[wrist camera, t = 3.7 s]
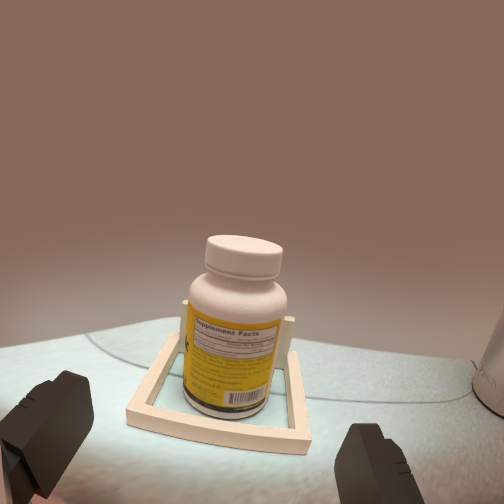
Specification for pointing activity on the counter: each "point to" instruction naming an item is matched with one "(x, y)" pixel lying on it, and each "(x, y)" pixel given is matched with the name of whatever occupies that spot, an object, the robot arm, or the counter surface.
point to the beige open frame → (220, 430)
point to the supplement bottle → (234, 327)
